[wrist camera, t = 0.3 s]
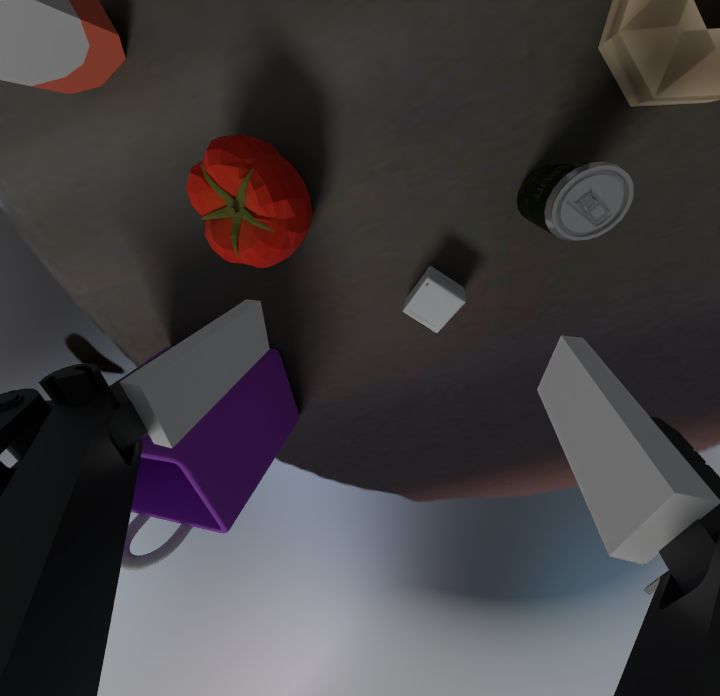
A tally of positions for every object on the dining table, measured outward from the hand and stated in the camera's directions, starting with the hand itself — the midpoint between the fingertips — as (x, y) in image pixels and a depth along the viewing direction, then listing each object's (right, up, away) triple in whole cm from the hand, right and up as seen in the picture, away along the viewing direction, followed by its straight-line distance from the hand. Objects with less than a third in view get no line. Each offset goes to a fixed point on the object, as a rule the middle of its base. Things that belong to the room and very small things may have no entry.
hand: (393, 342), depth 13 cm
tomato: (-13, +19, +25) cm, 34 cm away
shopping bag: (-27, -7, +46) cm, 53 cm away
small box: (+9, +8, +26) cm, 29 cm away
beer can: (+18, +16, +18) cm, 30 cm away
